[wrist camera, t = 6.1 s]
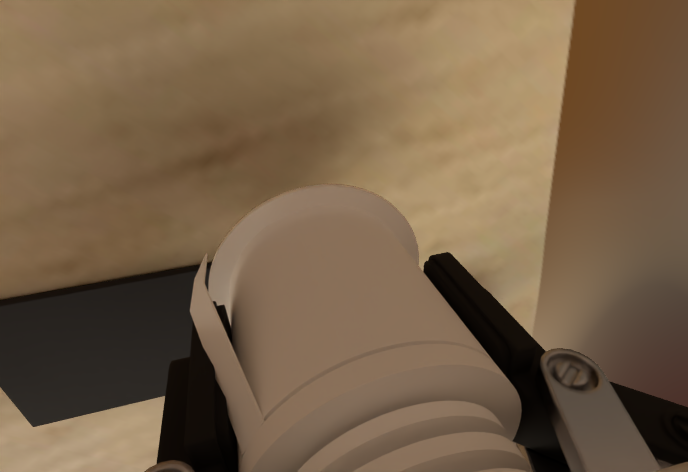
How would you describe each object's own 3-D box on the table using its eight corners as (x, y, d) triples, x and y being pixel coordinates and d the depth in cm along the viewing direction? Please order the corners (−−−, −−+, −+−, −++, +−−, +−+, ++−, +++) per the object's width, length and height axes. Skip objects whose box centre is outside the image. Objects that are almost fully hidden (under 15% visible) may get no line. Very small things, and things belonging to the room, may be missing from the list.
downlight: (459, 229, 14) (827, 563, 5) (362, 366, 16) (519, 748, 8) (247, 133, 10) (400, 731, 2) (160, 330, 12) (50, 989, 4)
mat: (36, 419, 26) (32, 427, 25) (-52, 309, 20) (-59, 316, 20) (351, 345, 30) (353, 351, 30) (346, 238, 25) (349, 243, 24)
